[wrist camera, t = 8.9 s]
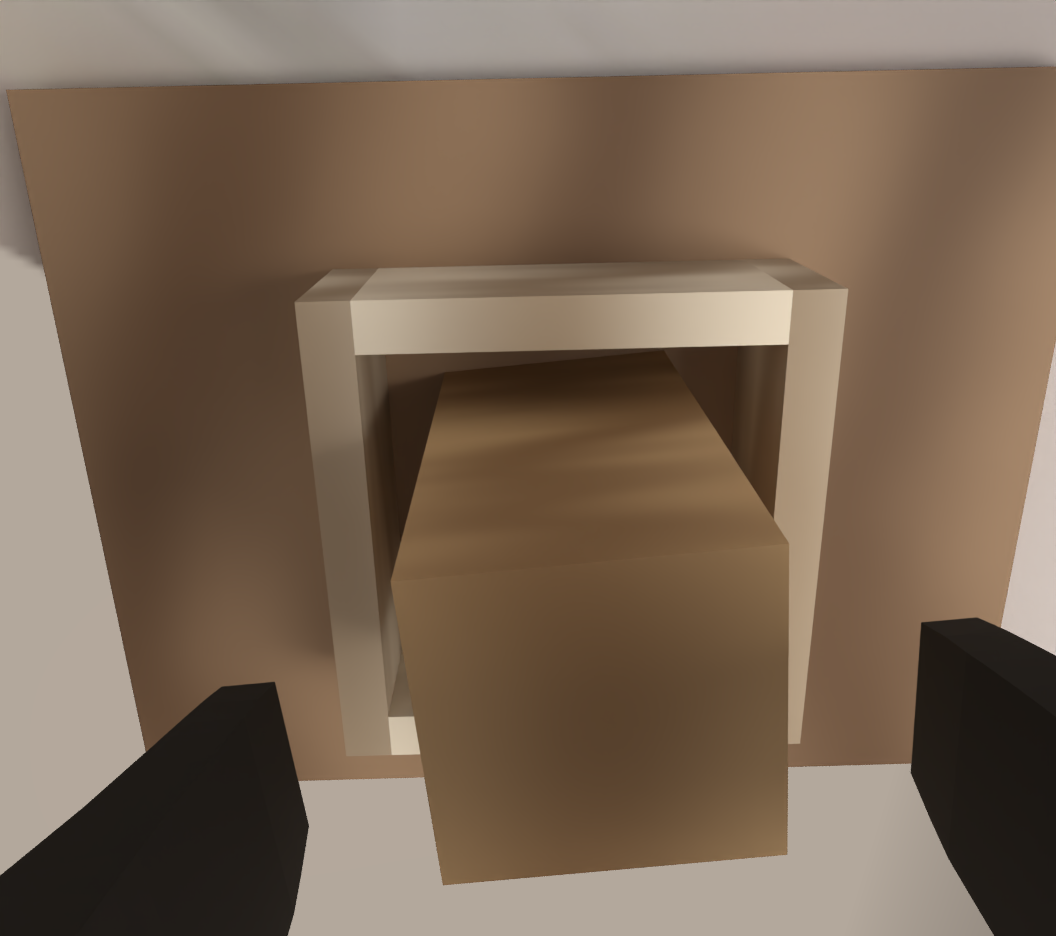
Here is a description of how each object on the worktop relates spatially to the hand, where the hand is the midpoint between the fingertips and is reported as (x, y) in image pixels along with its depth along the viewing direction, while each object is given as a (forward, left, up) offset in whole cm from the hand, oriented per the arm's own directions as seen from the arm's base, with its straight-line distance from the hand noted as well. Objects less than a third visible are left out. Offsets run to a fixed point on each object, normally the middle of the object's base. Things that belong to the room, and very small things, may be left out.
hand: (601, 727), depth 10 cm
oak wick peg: (0, 0, -8) cm, 8 cm away
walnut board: (0, 0, -9) cm, 9 cm away
